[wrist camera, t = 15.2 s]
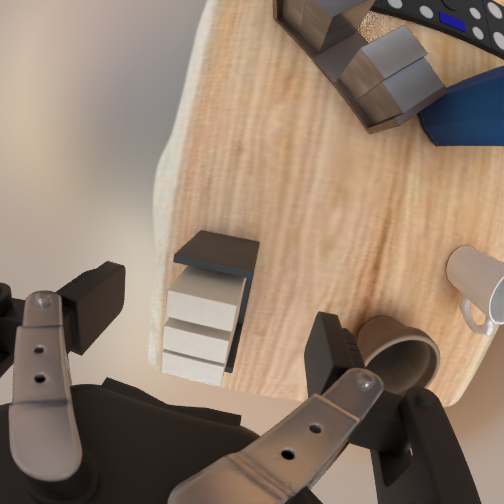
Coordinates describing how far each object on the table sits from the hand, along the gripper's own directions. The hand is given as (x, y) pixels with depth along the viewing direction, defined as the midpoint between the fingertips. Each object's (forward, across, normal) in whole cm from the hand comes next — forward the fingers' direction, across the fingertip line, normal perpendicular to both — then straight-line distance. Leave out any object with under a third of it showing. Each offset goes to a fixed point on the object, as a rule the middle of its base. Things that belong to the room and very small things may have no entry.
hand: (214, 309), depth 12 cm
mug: (+27, -31, +2) cm, 41 cm away
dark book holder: (+27, +2, +11) cm, 29 cm away
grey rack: (+27, -7, -21) cm, 35 cm away
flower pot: (+27, -21, +14) cm, 37 cm away
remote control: (+28, -22, -38) cm, 52 cm away
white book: (+26, +2, +8) cm, 27 cm away
